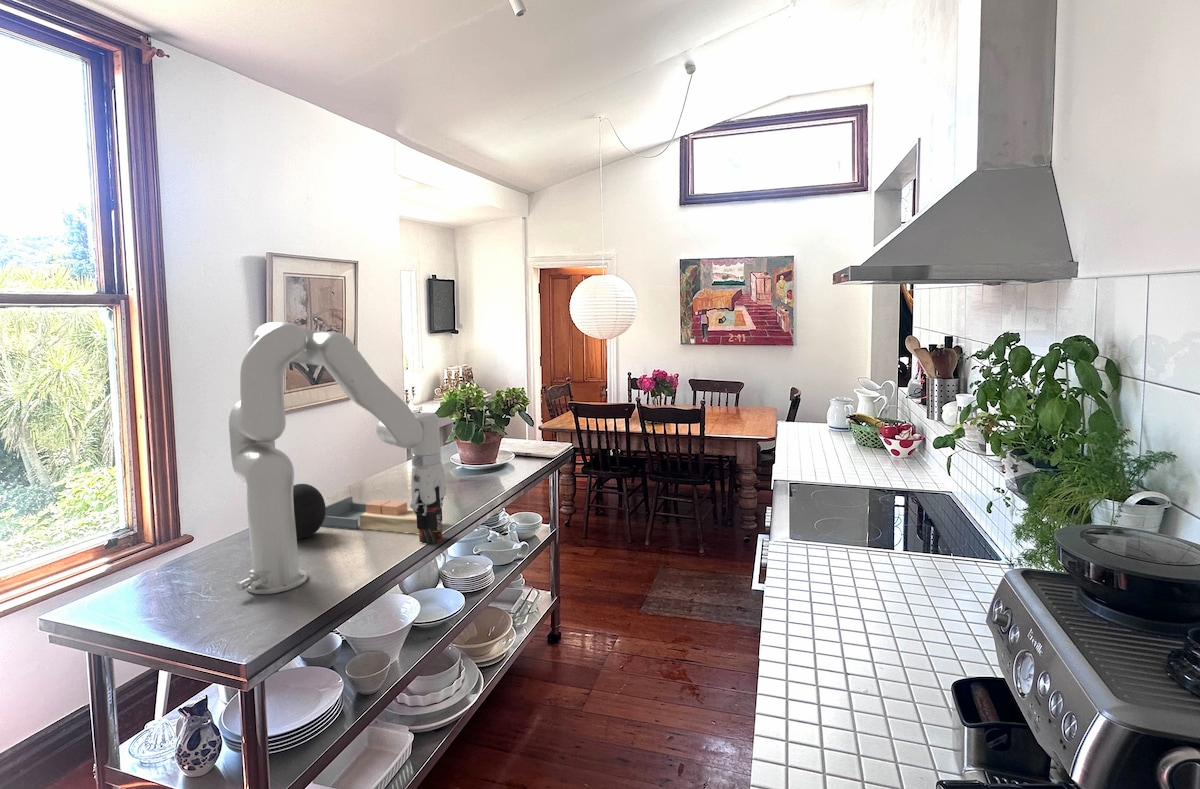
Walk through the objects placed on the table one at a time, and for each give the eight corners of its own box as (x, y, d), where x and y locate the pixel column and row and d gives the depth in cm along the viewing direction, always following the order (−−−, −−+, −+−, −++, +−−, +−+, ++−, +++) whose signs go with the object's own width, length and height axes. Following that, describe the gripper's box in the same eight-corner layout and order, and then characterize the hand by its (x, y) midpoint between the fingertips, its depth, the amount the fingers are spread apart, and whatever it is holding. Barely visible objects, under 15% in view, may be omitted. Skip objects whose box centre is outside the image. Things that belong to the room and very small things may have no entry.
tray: (356, 529, 187) (355, 512, 186) (319, 526, 191) (317, 509, 190) (386, 514, 200) (385, 498, 200) (351, 511, 204) (350, 495, 204)
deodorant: (439, 544, 174) (436, 489, 172) (416, 544, 175) (413, 489, 173) (444, 536, 180) (441, 482, 178) (423, 536, 180) (420, 483, 178)
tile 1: (380, 514, 188) (380, 505, 188) (366, 512, 190) (365, 504, 189) (391, 508, 193) (390, 500, 192) (376, 507, 194) (376, 499, 194)
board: (421, 534, 182) (420, 520, 181) (360, 528, 188) (359, 515, 187) (440, 523, 191) (439, 510, 191) (382, 517, 197) (381, 505, 197)
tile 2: (397, 515, 186) (396, 507, 186) (382, 514, 188) (381, 505, 188) (407, 510, 191) (406, 501, 191) (392, 509, 193) (392, 500, 192)
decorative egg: (277, 534, 184) (272, 482, 182) (325, 527, 190) (321, 476, 188) (279, 548, 174) (274, 493, 172) (330, 539, 179) (325, 486, 177)
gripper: (420, 468, 165) (424, 537, 168) (455, 453, 181) (458, 516, 184) (394, 466, 168) (399, 534, 170) (431, 451, 184) (435, 514, 186)
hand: (430, 524), depth 177 cm, fingers closed on deodorant, 5 cm apart
